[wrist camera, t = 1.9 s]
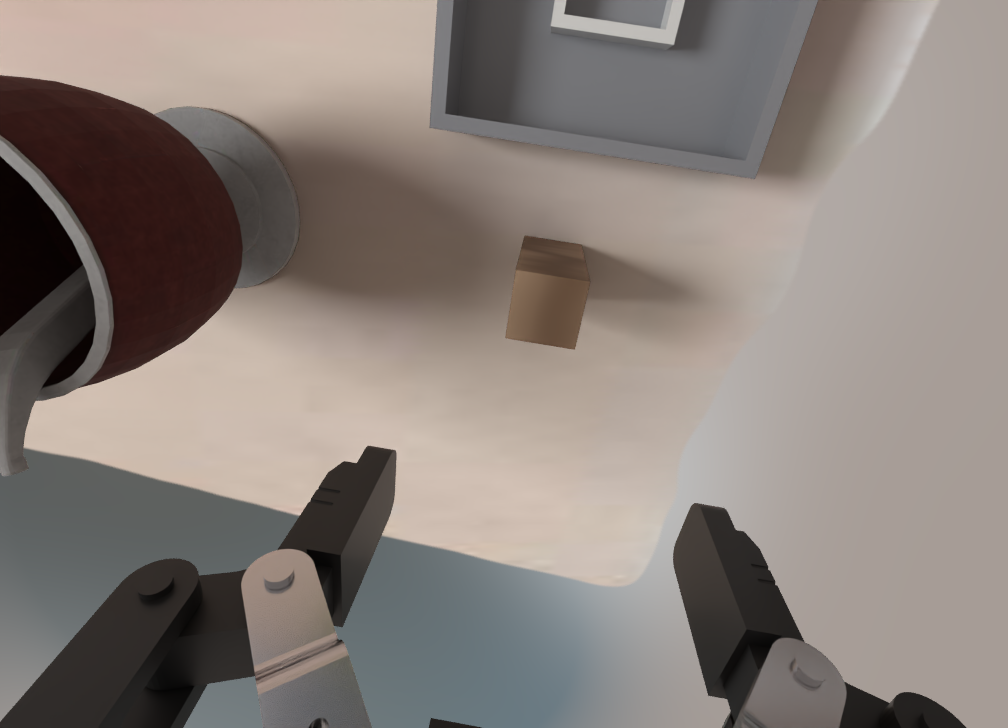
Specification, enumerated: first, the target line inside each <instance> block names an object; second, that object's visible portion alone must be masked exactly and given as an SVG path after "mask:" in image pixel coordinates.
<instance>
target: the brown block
mask: <svg viewBox="0 0 1008 728" xmlns="http://www.w3.org/2000/svg"><path fill="white" fill-rule="evenodd" d="M589 285H590V279H589V275H588V270H587V266H586V262H585V258H584V254H583V249H582V245H580V244H574V243H568V242H561V241H555V240H549V239H543V238H537V237H531V236H525V237H524V240H523V244H522V248H521V252H520V256H519V259H518V263H517V267H516V272H515V278H514V285H513V291H512V298H511V304H510V311H509V317H508V324H507V330H506V337H505V338H508V339H514V340H520V341H526V342H532V343H538V344H544V345H550V346H556V347H562V348H568V349H574V350H575V347H576V342H577V338H578V333H579V329H580V325H581V320H582V316H583V312H584V307H585V303H586V298H587V294H588V290H589Z"/></svg>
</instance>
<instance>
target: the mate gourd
mask: <svg viewBox="0 0 1008 728" xmlns="http://www.w3.org/2000/svg"><path fill="white" fill-rule="evenodd" d="M299 229H300V214H299V204H298V200H297V197H296V193H295V189H294V186H293V184H292V182H291V179H290V177H289V175H288V173H287V170H286V169H285V167H284V166H283V164H282V163H281V161H280V159H279V158H278V156H277V155H276V153H275V152H274V151H273V150H272V149H271V148H270V146H269V145H268V144H267V143H266V142H265V141H264V140H263V139H262V138H261V137H260V136H259V135H258V134H256V133H255V132H254V131H253V130H252V129H250V128H249V127H248V126H247V125H245V124H243V123H242V122H240V121H238V120H236V119H235V118H233V117H231V116H230V115H227V114H224V113H221V112H218V111H215V110H213V109H207V108H199V107H188V106H187V107H177V108H170V109H167V110H164V111H162V112H159V113H157V114H155V115H153V114H152V113H150V112H148V111H146V110H144V109H142V108H139V107H137V106H134V105H132V104H129V103H126V102H124V101H121V100H118V99H115V98H113V97H110V96H107V95H104V94H101V93H98V92H95V91H91V90H87V89H83V88H79V87H75V86H71V85H67V84H64V83H60V82H55V81H48V80H40V79H32V78H24V77H13V76H2V75H0V472H1V474H2V476H9V475H14V474H17V473H20V472H22V471H25V470H27V469H28V468H29V467H28V465H27V461H26V459H25V457H24V456H23V446H24V437H25V431H26V427H27V424H28V420H29V417H30V413H31V410H32V407H33V405H34V403H35V401H42V400H47V399H51V398H56V397H60V396H64V395H66V394H68V393H70V392H71V391H73V390H75V389H77V388H80V387H84V386H88V385H91V384H95V383H99V382H102V381H104V380H107V379H110V378H112V377H115V376H118V375H120V374H123V373H125V372H128V371H131V370H133V369H136V368H138V367H140V366H142V365H143V364H145V363H147V362H149V361H151V360H153V359H154V358H156V357H158V356H160V355H161V354H163V353H165V352H166V351H168V350H170V349H172V348H173V347H175V346H177V345H179V344H180V343H182V342H184V341H185V340H187V339H188V338H189V337H190V336H191V335H192V334H193V333H195V332H196V331H197V330H198V329H199V328H200V327H201V326H202V325H204V324H205V323H206V322H207V321H208V320H209V319H210V318H211V317H212V316H213V315H214V314H215V313H216V312H217V311H218V310H219V309H220V308H221V306H222V305H223V304H224V303H225V301H226V300H227V299H228V297H229V296H230V294H231V292H232V291H233V289H234V288H246V287H250V286H253V285H257V284H260V283H262V282H264V281H266V280H267V279H269V278H271V277H273V276H275V275H276V274H277V273H278V272H279V271H280V270H281V269H283V268H284V267H285V266H286V264H287V263H288V261H289V260H290V258H291V256H292V255H293V253H294V250H295V247H296V245H297V242H298V238H299Z"/></svg>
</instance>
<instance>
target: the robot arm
mask: <svg viewBox="0 0 1008 728" xmlns="http://www.w3.org/2000/svg"><path fill="white" fill-rule="evenodd" d="M395 477H396V451H395V450H391V449H385V448H379V447H373V446H367V447H366V449H365V450H364V452H363V454H362V455H361V457H360V459H359V460H358V462H357V463H352V462H346V461H344V462H342V463H341V464H340V465H338V466H337V467H335V468H334V469H333V470H331V471H330V472H328V474H327V475H326V477H325V478H324V480H323V481H322V483H321V484H320V486H319V489H318V490H317V491H316V492H315V494H314V495H313V497H312V498H311V501H310V502H309V503H308V504H307V506H306V507H305V509H304V510H303V512H302V513H301V515H300V516H299V518H298V520H297V521H296V523H295V524H294V526H293V527H292V529H291V530H290V532H289V533H288V535H287V536H286V538H285V539H284V541H283V542H282V544H281V546H280V547H279V548H278V550H277V551H273V552H270V553H268V554H265V555H263V556H262V557H260V558H259V559H257V560H256V561H255V562H253V563H252V564H251V565H250V566H249V568H248V569H246V570H242V571H237V572H230V573H221V574H211V575H201V576H199V574H198V571H197V568H196V567H195V566H194V565H193V564H192V563H190V562H189V561H186V560H182V559H164V560H159V561H156V562H153V563H150V564H148V565H145V566H143V567H142V568H140V569H138V570H136V571H135V572H133V573H132V574H130V575H129V576H128V577H127V578H126V579H125V580H123V581H122V582H121V584H120V585H119V586H118V587H117V588H116V589H115V591H114V592H113V593H112V594H111V595H110V596H109V598H107V600H106V601H105V602H104V603H103V604H102V605H101V607H100V608H99V609H98V610H97V611H96V612H95V613H94V615H93V616H92V617H91V618H90V619H89V620H88V622H87V623H86V624H85V625H84V626H83V627H82V628H81V630H80V631H79V632H78V633H77V634H76V635H75V637H74V638H73V639H72V640H71V641H70V642H69V643H68V645H67V646H66V647H65V648H64V649H63V650H62V652H61V653H60V654H59V655H58V656H57V657H56V658H55V659H54V661H53V662H52V663H51V664H50V665H49V666H48V668H47V669H46V670H45V671H44V672H43V673H42V675H41V676H40V677H39V678H38V679H37V680H36V681H35V682H34V684H33V685H32V686H31V687H30V688H29V689H28V691H27V692H26V693H25V694H24V695H23V696H22V697H21V699H20V700H19V701H18V702H17V703H16V705H15V706H14V707H13V708H12V709H11V710H10V711H9V712H8V714H7V715H6V716H5V717H4V718H3V719H2V721H1V722H0V728H183V727H184V725H185V723H186V721H187V720H188V718H189V716H190V714H191V713H192V711H193V709H194V707H195V706H196V704H197V702H198V700H199V698H200V697H201V695H202V693H203V691H204V690H205V688H206V686H207V684H209V683H215V682H221V681H227V680H234V679H240V678H246V677H252V676H255V677H256V684H257V690H258V697H259V703H260V709H261V716H262V722H263V728H372V727H371V723H370V720H369V717H368V714H367V711H366V708H365V705H364V701H363V698H362V695H361V692H360V689H359V686H358V683H357V680H356V676H355V673H354V671H353V667H352V664H351V661H350V658H349V655H348V652H347V649H346V646H345V644H344V642H343V641H342V640H338V638H337V635H336V632H335V629H334V626H339V627H343V625H344V623H345V620H346V618H347V615H348V613H349V611H350V608H351V606H352V603H353V601H354V599H355V597H356V594H357V592H358V590H359V587H360V585H361V583H362V580H363V578H364V575H365V573H366V571H367V568H368V566H369V564H370V561H371V559H372V556H373V554H374V552H375V549H376V547H377V545H378V542H379V540H380V538H381V535H382V533H383V531H384V528H385V526H386V524H387V521H388V519H389V516H390V514H391V510H392V507H393V502H394V496H395ZM673 563H674V569H675V573H676V577H677V581H678V584H679V588H680V592H681V595H682V599H683V603H684V607H685V610H686V614H687V618H688V622H689V625H690V629H691V632H692V636H693V640H694V644H695V648H696V651H697V655H698V659H699V663H700V666H701V670H702V674H703V678H704V681H705V685H706V688H707V693H708V695H709V696H714V697H719V698H725V699H727V700H728V703H729V706H730V710H731V712H730V713H729V715H728V716H727V718H726V720H725V722H724V725H723V726H722V728H966V727H965V726H964V725H963V724H962V723H961V722H960V721H959V720H958V719H957V718H956V717H955V716H954V715H953V714H952V713H950V712H949V711H948V710H946V709H945V708H944V707H942V706H941V705H939V704H938V703H936V702H935V701H933V700H931V699H929V698H927V697H924V696H922V695H919V694H916V693H911V692H904V693H900V694H898V695H897V696H896V697H895V698H894V699H893V700H892V701H891V703H888V702H886V701H884V700H882V699H880V698H877V697H875V696H873V695H871V694H868V693H867V692H864V691H862V690H860V689H858V688H856V687H854V686H851V685H850V684H848V683H846V682H844V680H843V679H842V676H841V675H840V673H839V672H838V670H837V668H836V667H835V666H834V665H833V663H832V662H831V661H830V660H829V659H828V658H827V657H826V656H824V655H823V654H822V653H821V652H820V651H818V650H817V649H816V648H814V647H812V646H811V645H809V644H807V643H805V642H804V640H803V638H802V636H801V634H800V632H799V630H798V628H797V626H796V624H795V622H794V620H793V617H792V615H791V613H790V611H789V609H788V607H787V605H786V603H785V601H784V599H783V596H782V594H781V593H780V590H779V588H778V586H776V585H775V580H774V578H773V576H772V574H771V572H770V571H769V570H768V565H767V563H766V561H765V559H764V557H763V555H762V553H761V551H760V549H759V548H758V547H757V546H756V544H755V543H754V542H753V541H752V540H751V539H750V538H749V537H748V536H747V534H746V533H744V532H743V531H737V530H735V528H734V525H733V523H732V521H731V519H730V516H729V514H728V512H727V511H726V509H724V508H721V507H715V506H709V505H704V504H698V503H694V504H693V505H692V506H691V508H690V510H689V512H688V514H687V517H686V519H685V522H684V524H683V526H682V529H681V531H680V534H679V536H678V538H677V541H676V544H675V547H674V553H673ZM429 728H481V727H476V726H470V725H465V724H460V723H455V722H449V721H444V720H438V719H433V718H431V720H430V725H429Z"/></svg>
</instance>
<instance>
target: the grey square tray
mask: <svg viewBox="0 0 1008 728" xmlns="http://www.w3.org/2000/svg"><path fill="white" fill-rule="evenodd" d="M817 2H818V0H438V1H437V17H436V33H435V49H434V65H433V81H432V97H431V113H430V128H435V129H441V130H447V131H454V132H460V133H466V134H473V135H479V136H485V137H492V138H498V139H504V140H511V141H517V142H523V143H530V144H536V145H543V146H549V147H555V148H562V149H568V150H574V151H581V152H587V153H593V154H600V155H606V156H612V157H619V158H625V159H631V160H638V161H644V162H650V163H657V164H663V165H669V166H676V167H682V168H688V169H695V170H701V171H707V172H714V173H720V174H726V175H733V176H739V177H745V178H752V179H755V178H756V175H757V172H758V169H759V166H760V163H761V161H762V158H763V155H764V152H765V149H766V146H767V144H768V141H769V138H770V135H771V132H772V129H773V127H774V124H775V121H776V118H777V115H778V113H779V110H780V107H781V104H782V101H783V98H784V96H785V93H786V90H787V87H788V84H789V81H790V79H791V76H792V73H793V70H794V67H795V64H796V62H797V59H798V56H799V53H800V50H801V47H802V45H803V42H804V39H805V36H806V33H807V31H808V28H809V25H810V22H811V19H812V16H813V14H814V11H815V8H816V5H817Z"/></svg>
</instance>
